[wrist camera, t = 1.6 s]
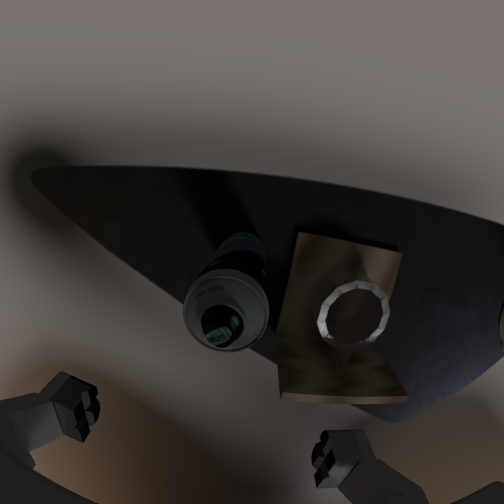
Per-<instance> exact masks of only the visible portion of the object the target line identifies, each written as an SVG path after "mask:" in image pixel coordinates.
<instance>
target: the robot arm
mask: <svg viewBox="0 0 504 504" xmlns="http://www.w3.org/2000/svg"><path fill="white" fill-rule="evenodd" d="M500 335H501V338H502V347H501V349H502V351H504V307H503V310H502V314H501V319H500ZM97 394H98V391H97V387H96V386H94V385H92V384H89V383H87V382H85V381H83V380H80V379H78V378H76V377H74V376H71V375H69V374H67V373H65V372H63V371H62V372H59V373H58V374H57V375H56V376H55V377H54V378H53V379H52V380H51V381H50V382H49V383H48V384H47V385H46V387H44V388H43V389H42V391H41V392H40V393H39V394H38V393H36V392H35V393H31V394H27V395H23V396H19V397H14V398H10V399H5V400H1V401H0V504H98V503H95V502H93V501H91V500H89V499H87V498H84V497H82V496H80V495H78V494H76V493H74V492H72V491H70V490H68V489H66V488H64V487H62V486H60V485H59V484H57V483H55V482H53V481H52V480H50V479H48V478H46V477H45V476H43V475H41V474H40V473H38V472H36V471H35V470H33V468H34V466H35V461H34V460H33V458H32V457H31V455H30V453H29V452H30V451H32V450H34V449H36V448H39V447H41V446H43V445H45V444H47V443H49V442H52V441H53V440H56V439H58V438H60V437H62V436H64V435H67V436H69V437H71V438H73V439H75V440H78V441H80V442H82V443H83V442H84V441H85V439H86V438H87V436H88V434H89V433H90V428H89V426H91V425H93V424H95V423H96V421H97V419H98V417H99V414H100V402H99V401H98V400H97V399H96V396H97ZM320 440H321V441H320V442H318V443H316V444H315V446H314V448H313V451H312V456H311V459H312V466H313V467H314V468H315V469H316V470H317V471H316V473H315V474H314V478H315V482H316V488H338V489H339V490H340V491H341V492H342V493H343V494H344V495H345V496H346V498H347V499H348V500H349V501H350V502H351V503H352V504H429V502H428V500H427V498H426V496H425V494H424V491H423V490H422V488H421V487H420V486H418V485H417V484H415V483H414V482H412V481H410V480H409V479H408V478H406V477H405V476H403V475H401V474H400V473H399V472H397V471H396V470H394V469H393V468H391V467H390V466H389V465H387V464H386V463H384V462H383V461H381V460H380V459H376V458H375V455H374V453H373V450H372V448H371V446H370V443H369V441H368V438H367V436H366V434H365V432H364V430H363V429H357V430H324V431H323V432H322V433H321V435H320ZM451 504H504V483H503V482H500V481H496V482H493V483H491V484H489V485H487V486H485V487H483V488H482V489H480V490H478V491H476V492H474V493H472V494H470V495H468V496H466V497H464V498H462V499H460V500H458V501H455V502H453V503H451Z"/></svg>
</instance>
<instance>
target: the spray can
mask: <svg viewBox="0 0 504 504" xmlns="http://www.w3.org/2000/svg"><path fill="white" fill-rule="evenodd" d="M268 317H269V301H268V287H267V272H266V258H265V250H264V247H263V245H262V243H261V241H260V240H259V239H258V238H257V237H256V236H254V235H252V234H250V233H246V232H238V233H234V234H232V235H230V236H229V237H228V238H226V239H225V240H224V242H223V243H222V244H221V246H220V247H219V248H218V250H217V251H216V252H215V254H214V255H213V256H212V258H211V259H210V261H209V262H208V263H207V265H206V266H205V267H204V269H203V270H202V272H201V273H200V274H199V276H198V277H197V278H196V280H195V281H194V283H193V284H192V285H191V287H190V289H189V290H188V292H187V295H186V298H185V301H184V305H183V318H184V322H185V325H186V328H187V329H188V331H189V333H190V334H191V335H192V336H193V338H194V339H195V340H196V341H198V342H199V343H200V344H201V345H203V346H205V347H207V348H208V349H211V350H214V351H219V352H225V353H232V352H238V351H241V350H244V349H247V348H249V347H250V346H252V345H253V344H255V343H256V342H257V341H258V340H259V339H260V337H261V336H262V335H263V333H264V331H265V328H266V325H267V322H268Z"/></svg>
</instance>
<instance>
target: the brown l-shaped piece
mask: <svg viewBox="0 0 504 504" xmlns="http://www.w3.org/2000/svg"><path fill="white" fill-rule="evenodd" d="M401 257H402V253H400V252H397V251H393V250H388V249H384V248H379V247H375V246H370V245H365V244H360V243H356V242H351V241H346V240H341V239H336V238H331V237H326V236H321V235H316V234H311V233H306V232H301V231H298V234H297V239H296V243H295V248H294V253H293V258H292V262H291V267H290V272H289V276H288V281H287V285H286V290H285V294H284V299H283V303H282V307H281V312H280V316H279V320H278V324H277V328H276V333H275V343H276V354H277V366H278V378H279V389H280V400H288V401H299V402H312V403H332V404H388V403H405V402H406V400H407V398H408V396H409V395H408V394H407V392H406V391H405V389H404V387H403V386H402V384H401V383H400V381H399V380H398V378H397V377H396V375H395V374H394V372H393V371H392V369H391V368H390V366H389V365H388V363H387V362H386V360H385V359H384V357H383V356H382V354H381V353H380V351H379V350H378V349H377V347H376V346H375V344H374V342H375V340H376V339H375V340H374V341H373V342H372V343H371V344H368V345H366V346H363V347H361V348H358V349H356V350H353V351H352V352H351V355H350V358H349V360H348V363H347V365H345V364H332V363H331V362H330V360H329V357H328V354H327V352H326V348H327V345H328V343H327V342H325V341H324V340H323V339H322V337H321V335H320V332H319V330H318V327H317V325H316V322H315V320H314V317H313V314H312V311H311V308H310V305H309V302H308V300H309V297H310V293H311V289H312V285H313V284H314V282H315V281H316V280H317V279H318V278H319V277H320V276H321V275H322V274H323V273H324V271H327V270H330V269H332V268H335V267H338V266H341V265H342V266H348V267H353V268H358V269H359V270H360V271H361V272H362V273H364V274H365V275H366V276H367V277H368V278H369V279H371V280H372V281H373V282H374V283H375V284H376V285H377V286H378V287H379V288H380V289H381V290H382V291H383V292H384V293H385V294H386V295H387V298H388V303H389V299H390V296H391V293H392V290H393V286H394V283H395V280H396V276H397V272H398V269H399V265H400V261H401ZM365 295H366V294H365V290H364V289H360V288H355V289H352V290H350V291H347V292H345V293H342V294H340V295H339V296H338V298H337V299H336V300H335V301H334V302H333V303H332V304H331V305H330V306H329V309H328V312H327V316H326V319H327V320H331V321H339V322H341V321H343V320H346V319H349V318H351V317H353V316H354V315H355V314H356V313H357V312H358V311H359V310H360V309H361V308H362V305H363V302H364V299H365Z"/></svg>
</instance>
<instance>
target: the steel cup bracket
mask: <svg viewBox="0 0 504 504" xmlns="http://www.w3.org/2000/svg"><path fill="white" fill-rule="evenodd" d="M355 288H360V289H364V290H365V294H366V295H365V299H364V302H363V305H362V308H361V309H360V310H359V311H358V312H357V313H356V314H355V315H354V316H353V317H351V318H349V319H346V320H343V321H341V322H339V321H331V320H327V319H326V316H327V312H328V309H329V306H330V305H331V304H332V303H333V302H334V301H335V300H336V299H337V298H338V296H339V295H340V294H342V293H345V292H347V291H350V290H352V289H355ZM308 302H309V305H310V308H311V311H312V314H313V317H314V320H315V322H316V325H317V327H318V330H319V332H320V335H321V337H322V339H323V340H324V341H325V342H327V343H328V345H327V348H326V352H327V354H328V357H329V360H330V362H331V363H332V364H345V365H347V363H348V360H349V358H350V355H351V352H352V351H353V350H356V349H358V348H361V347H363V346H366V345H368V344H371V343H372V342H373V341H374V340H375V339H376V337H377V336H378V335H379V334H380V333H381V332H382V331H383V330H384V328H385V325H386V322H387V320H388V317H389V314H390V310H389V304H388V298H387V295H386V294H385V293H384V292H383V291H382V290H381V289H380V288H379V287H378V286H377V285H376V284H375V283H374V282H373V281H372V280H371V279H369V278H368V277H367V276H366V275H365V274H364V273H362V272H361V271H360V270H359V269H358V268H353V267H348V266H342V265H341V266H338V267H335V268H332V269H330V270H327V271H324V273H323V274H322V275H321V276H320V277H319V278H318V279H317V280H316V281H315V282H314V284H313V285H312V289H311V293H310V297H309V300H308Z"/></svg>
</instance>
